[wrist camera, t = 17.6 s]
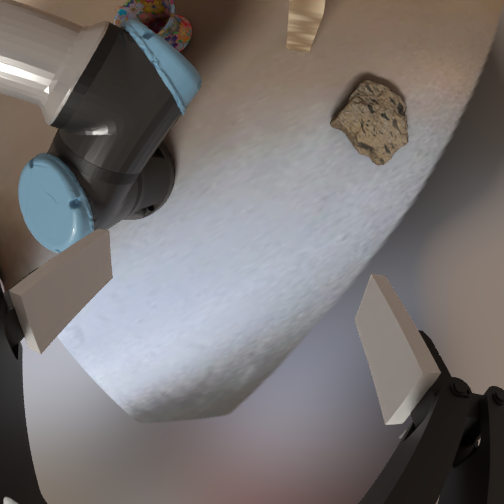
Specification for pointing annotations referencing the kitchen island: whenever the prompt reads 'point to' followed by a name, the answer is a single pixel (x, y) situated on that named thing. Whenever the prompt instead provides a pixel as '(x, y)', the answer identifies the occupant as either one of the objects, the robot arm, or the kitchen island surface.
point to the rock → (374, 121)
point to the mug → (157, 20)
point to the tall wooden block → (303, 23)
